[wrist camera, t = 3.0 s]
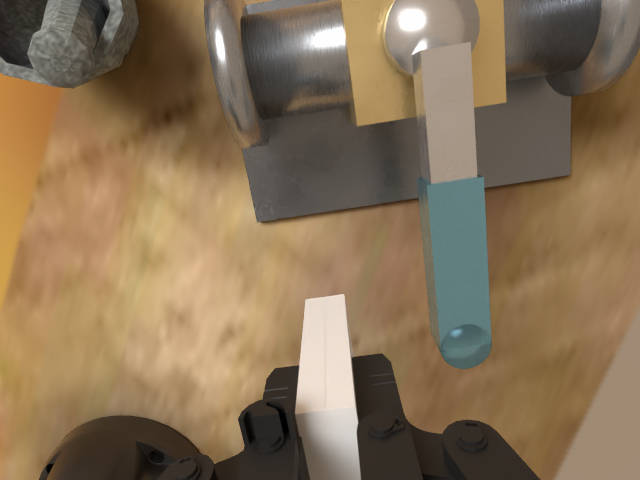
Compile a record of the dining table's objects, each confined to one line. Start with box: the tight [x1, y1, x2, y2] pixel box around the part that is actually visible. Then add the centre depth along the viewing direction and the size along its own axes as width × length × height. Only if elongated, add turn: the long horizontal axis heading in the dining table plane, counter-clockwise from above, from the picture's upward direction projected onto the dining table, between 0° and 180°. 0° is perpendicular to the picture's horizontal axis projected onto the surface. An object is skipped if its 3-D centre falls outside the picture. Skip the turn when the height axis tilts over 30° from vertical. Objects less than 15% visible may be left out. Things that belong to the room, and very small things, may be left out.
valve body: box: [204, 0, 640, 222], centre depth 28 cm, size 24×15×10 cm, turn 99°
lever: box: [382, 0, 492, 369], centre depth 23 cm, size 4×20×4 cm, turn 9°
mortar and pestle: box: [0, 0, 140, 88], centre depth 25 cm, size 11×9×12 cm
